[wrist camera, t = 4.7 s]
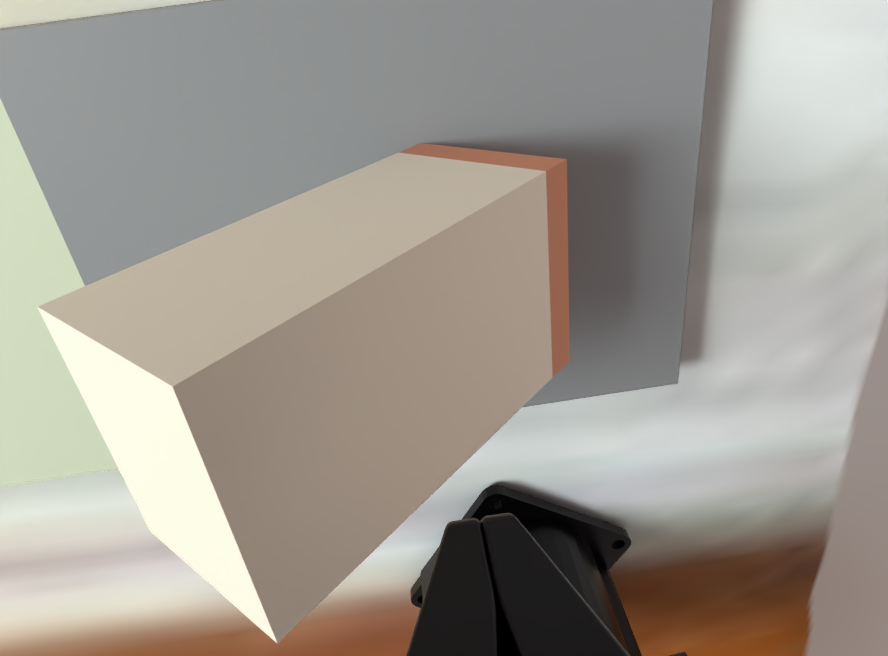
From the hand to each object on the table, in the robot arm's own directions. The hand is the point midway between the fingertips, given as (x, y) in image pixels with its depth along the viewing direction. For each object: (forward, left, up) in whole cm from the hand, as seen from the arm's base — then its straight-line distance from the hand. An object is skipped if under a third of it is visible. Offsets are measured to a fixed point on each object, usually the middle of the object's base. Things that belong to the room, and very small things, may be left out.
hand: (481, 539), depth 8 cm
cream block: (-1, -1, -9) cm, 9 cm away
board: (+6, +4, -11) cm, 13 cm away
